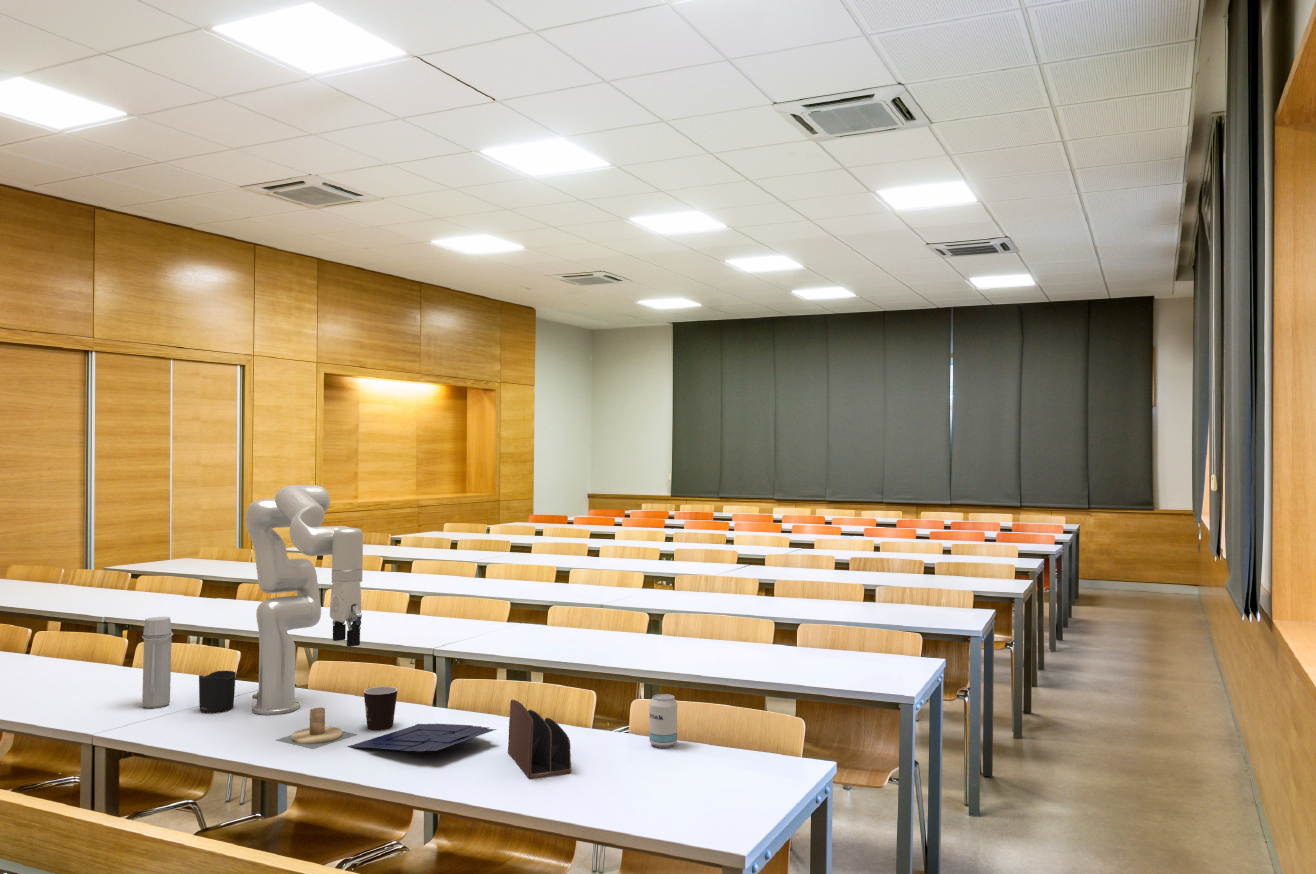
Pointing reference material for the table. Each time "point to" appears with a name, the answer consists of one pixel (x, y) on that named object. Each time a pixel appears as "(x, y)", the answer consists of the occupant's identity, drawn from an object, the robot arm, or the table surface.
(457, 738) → the dark blue tray
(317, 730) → the lid
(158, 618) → the water bottle
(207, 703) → the pen holder
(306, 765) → the table surface
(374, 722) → the coffee mug
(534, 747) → the letter holder
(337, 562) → the robot arm
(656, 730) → the beverage can
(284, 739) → the mat
